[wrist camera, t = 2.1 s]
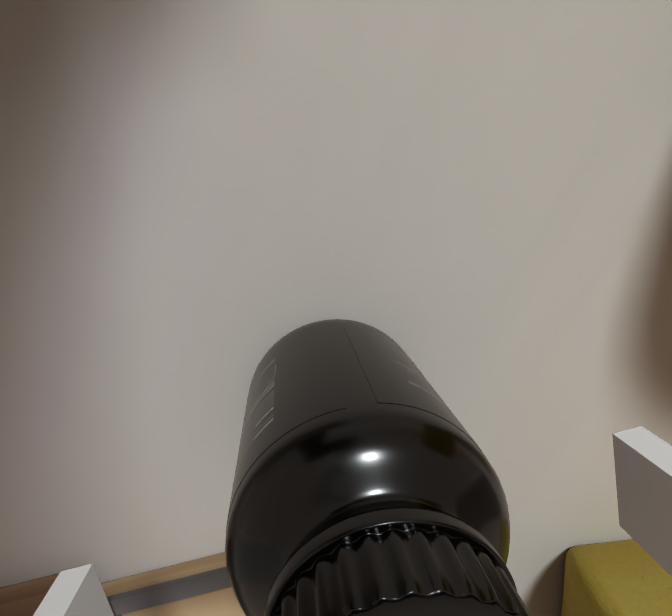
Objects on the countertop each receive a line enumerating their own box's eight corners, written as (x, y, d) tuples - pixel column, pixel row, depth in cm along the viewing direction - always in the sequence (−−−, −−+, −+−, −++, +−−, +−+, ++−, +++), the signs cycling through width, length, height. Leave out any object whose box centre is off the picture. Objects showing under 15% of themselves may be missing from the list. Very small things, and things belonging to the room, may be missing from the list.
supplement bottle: (313, 497, 20) (347, 922, 8) (215, 378, 18) (83, 706, 7) (447, 410, 20) (676, 728, 8) (359, 279, 18) (488, 444, 6)
